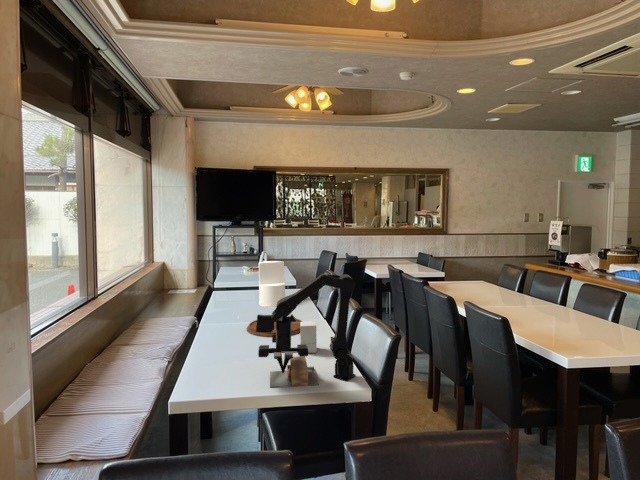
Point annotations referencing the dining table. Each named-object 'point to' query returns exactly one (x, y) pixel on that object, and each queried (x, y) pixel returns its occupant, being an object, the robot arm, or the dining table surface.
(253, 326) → the cutting board
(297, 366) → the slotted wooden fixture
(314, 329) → the supplement box
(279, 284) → the cylinder
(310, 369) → the pin
